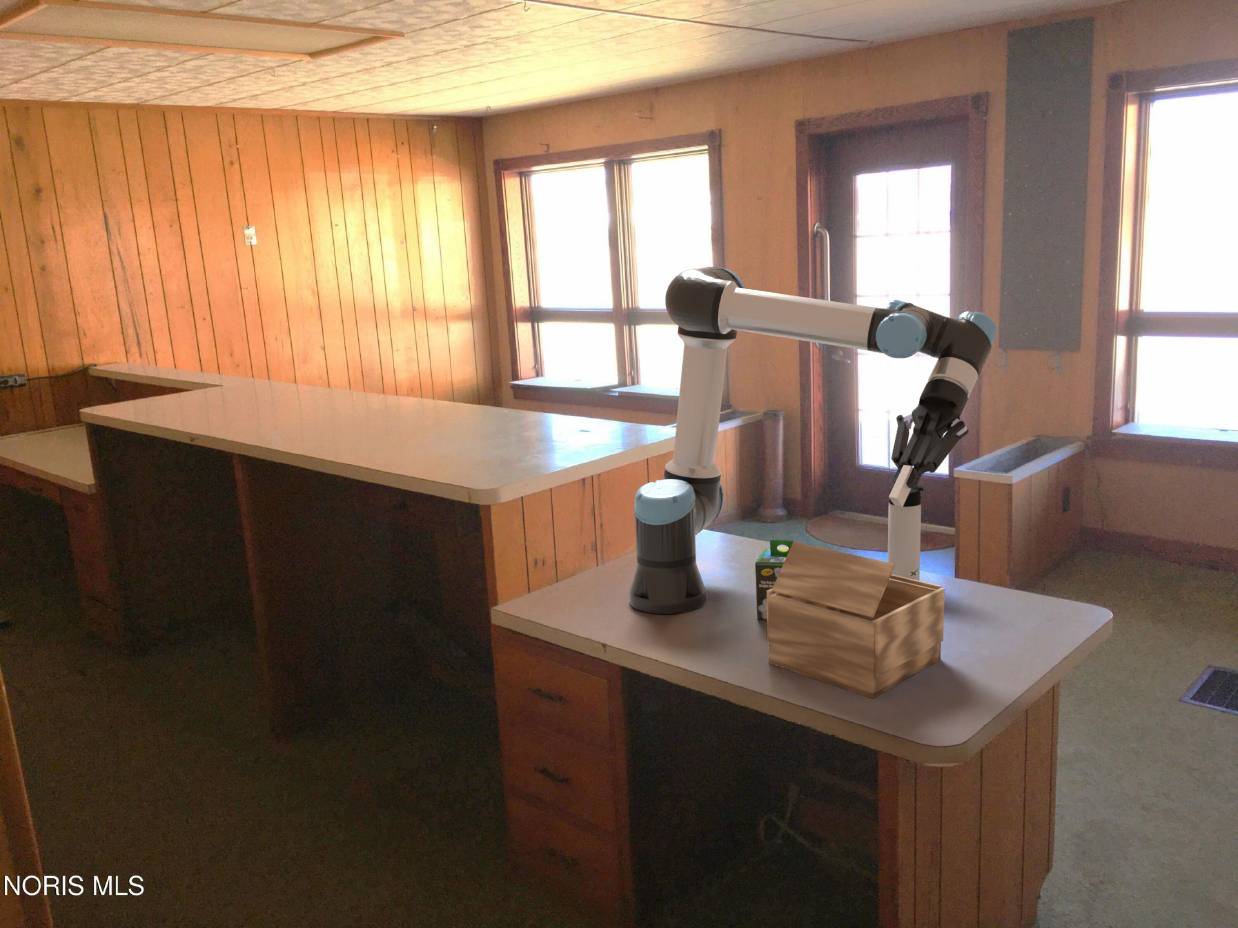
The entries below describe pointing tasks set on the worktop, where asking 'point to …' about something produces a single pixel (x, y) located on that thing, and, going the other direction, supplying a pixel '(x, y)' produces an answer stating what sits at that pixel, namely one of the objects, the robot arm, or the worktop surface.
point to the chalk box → (769, 572)
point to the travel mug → (905, 535)
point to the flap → (834, 578)
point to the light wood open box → (859, 637)
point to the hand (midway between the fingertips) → (895, 501)
